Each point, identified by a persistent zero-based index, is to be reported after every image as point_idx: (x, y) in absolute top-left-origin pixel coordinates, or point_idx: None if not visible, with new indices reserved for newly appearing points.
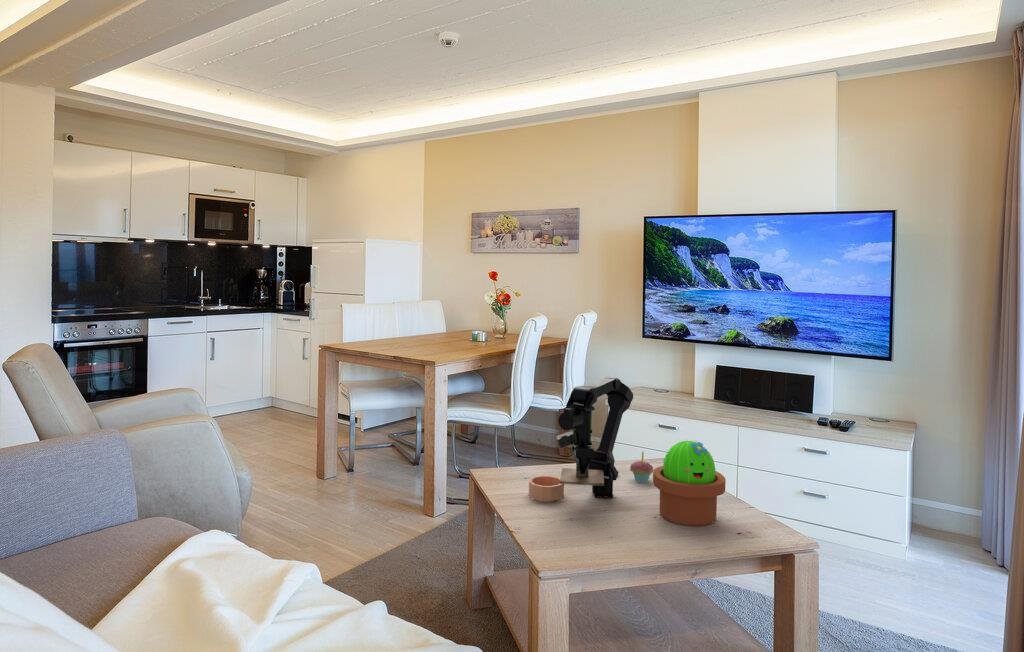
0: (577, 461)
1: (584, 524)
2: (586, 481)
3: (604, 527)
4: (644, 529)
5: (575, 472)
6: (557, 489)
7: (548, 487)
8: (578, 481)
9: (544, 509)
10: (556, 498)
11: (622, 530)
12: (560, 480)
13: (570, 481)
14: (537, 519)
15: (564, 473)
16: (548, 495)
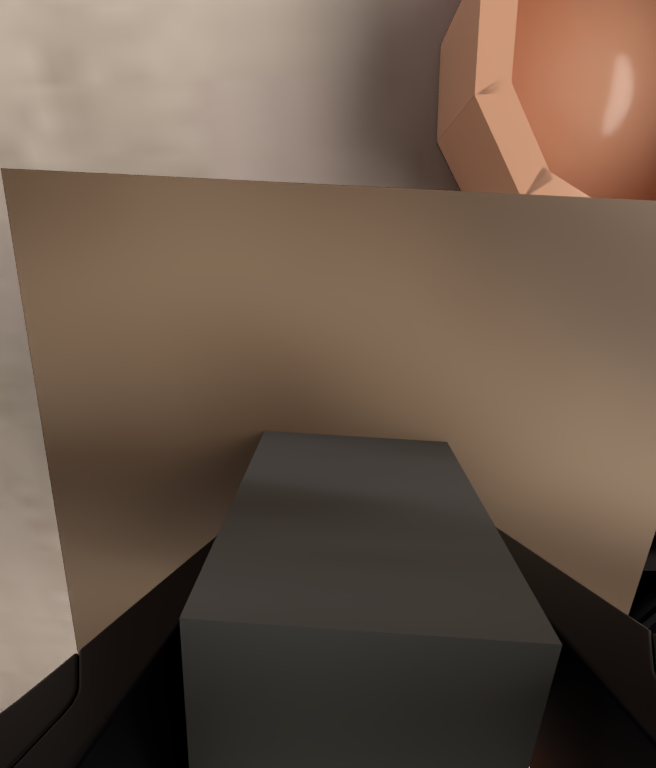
0: (253, 650)
1: (28, 386)
2: (101, 549)
3: (20, 494)
4: (57, 667)
5: (489, 431)
6: (495, 182)
7: (476, 57)
8: (71, 454)
9: (243, 82)
10: (464, 188)
11: (10, 575)
12: (44, 174)
13: (42, 342)
14: (13, 24)
15: (432, 251)
16: (451, 95)
